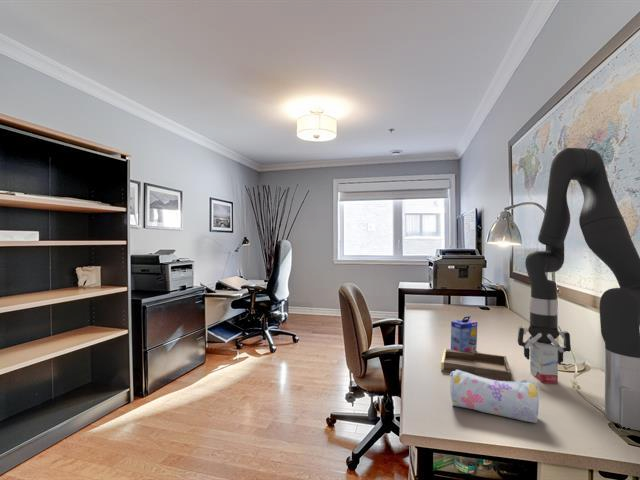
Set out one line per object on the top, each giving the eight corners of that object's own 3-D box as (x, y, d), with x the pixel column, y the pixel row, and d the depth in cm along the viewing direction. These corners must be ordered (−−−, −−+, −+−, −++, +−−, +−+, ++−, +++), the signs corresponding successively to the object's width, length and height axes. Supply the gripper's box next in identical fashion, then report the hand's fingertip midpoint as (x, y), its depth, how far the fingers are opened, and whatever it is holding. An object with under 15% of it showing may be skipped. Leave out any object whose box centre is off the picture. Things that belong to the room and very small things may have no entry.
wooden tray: (511, 382, 104) (511, 372, 104) (441, 371, 113) (441, 362, 113) (505, 364, 119) (505, 356, 119) (444, 356, 127) (444, 348, 127)
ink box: (558, 384, 103) (558, 346, 103) (541, 383, 104) (541, 345, 104) (545, 373, 111) (545, 338, 111) (529, 372, 112) (529, 337, 112)
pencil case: (535, 413, 86) (535, 376, 86) (543, 430, 78) (543, 390, 78) (450, 397, 94) (450, 364, 94) (448, 411, 86) (448, 375, 86)
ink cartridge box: (461, 355, 129) (461, 318, 129) (449, 351, 134) (449, 315, 134) (478, 351, 133) (478, 315, 133) (466, 347, 138) (466, 313, 138)
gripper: (519, 312, 107) (519, 361, 107) (573, 316, 101) (573, 368, 101) (516, 307, 114) (516, 354, 114) (566, 311, 108) (566, 360, 108)
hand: (543, 360), depth 108 cm, fingers open, 8 cm apart
